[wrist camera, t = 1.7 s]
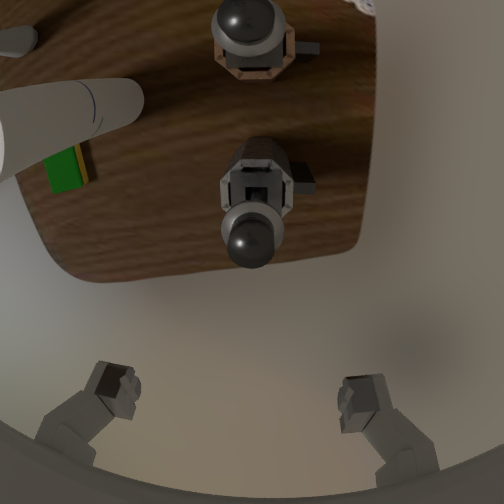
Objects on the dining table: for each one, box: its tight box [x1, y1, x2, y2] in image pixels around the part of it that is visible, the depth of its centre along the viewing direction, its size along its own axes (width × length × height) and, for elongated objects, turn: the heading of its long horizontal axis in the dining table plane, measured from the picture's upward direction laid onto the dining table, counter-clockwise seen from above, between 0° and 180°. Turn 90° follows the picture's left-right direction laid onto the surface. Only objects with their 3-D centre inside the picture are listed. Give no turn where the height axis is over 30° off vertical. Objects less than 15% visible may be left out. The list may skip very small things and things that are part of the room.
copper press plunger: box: [211, 0, 286, 57], centre depth 16 cm, size 4×4×12 cm
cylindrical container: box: [0, 78, 144, 183], centre depth 23 cm, size 7×7×25 cm
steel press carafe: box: [220, 137, 316, 217], centre depth 32 cm, size 7×9×13 cm
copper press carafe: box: [214, 23, 320, 83], centre depth 24 cm, size 7×9×13 cm
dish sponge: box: [43, 143, 89, 194], centre depth 36 cm, size 7×14×2 cm, turn 6°
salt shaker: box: [0, 25, 38, 57], centre depth 20 cm, size 6×6×13 cm
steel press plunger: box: [221, 187, 284, 269], centre depth 24 cm, size 4×4×12 cm
